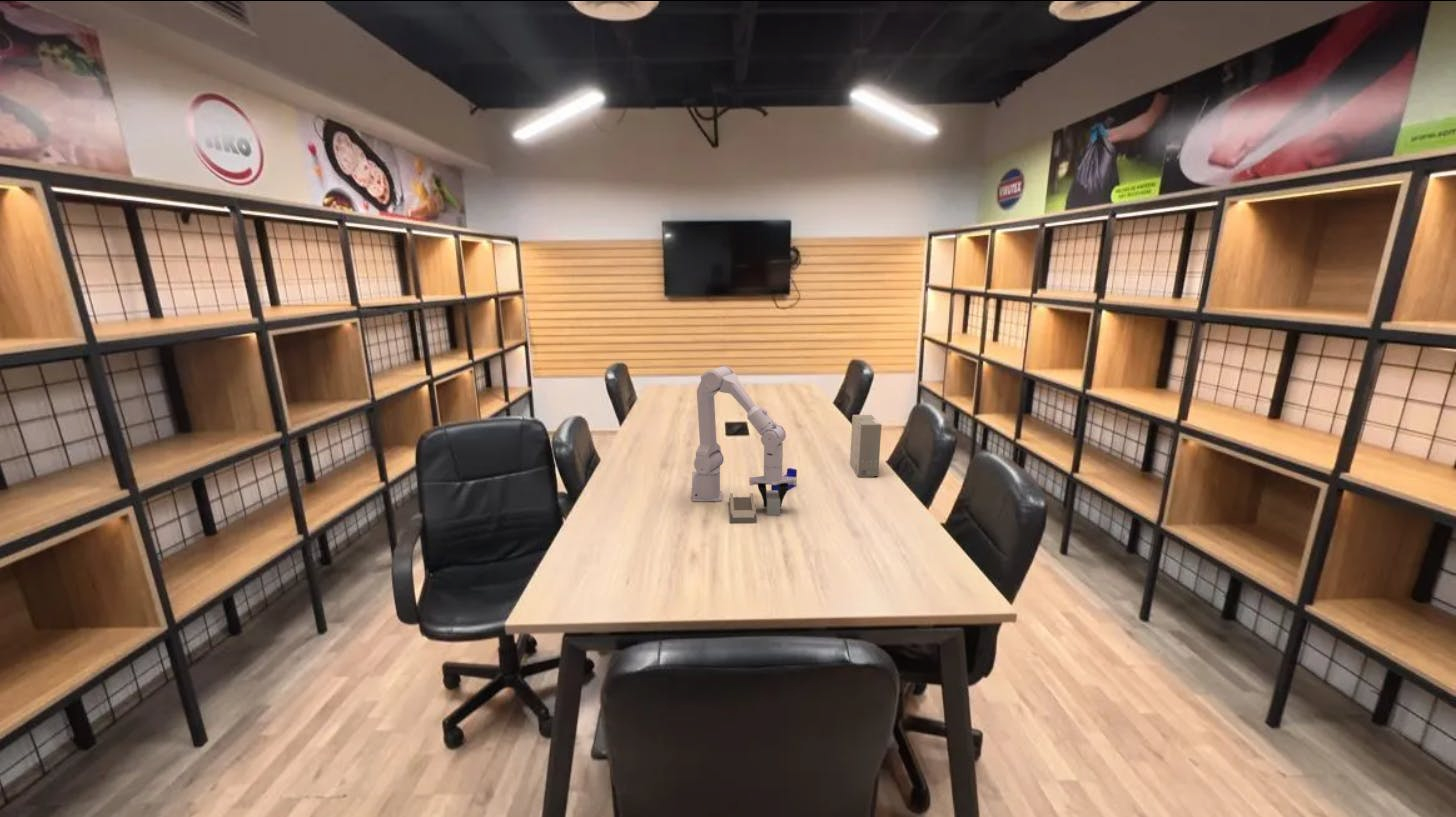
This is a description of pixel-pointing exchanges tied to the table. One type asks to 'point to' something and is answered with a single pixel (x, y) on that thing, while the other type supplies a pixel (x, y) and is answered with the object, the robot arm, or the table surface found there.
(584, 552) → the table surface
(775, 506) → the grey block
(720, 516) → the table surface
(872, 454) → the hard drive box
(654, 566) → the table surface
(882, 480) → the table surface
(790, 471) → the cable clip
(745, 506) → the grey rectangular tray
